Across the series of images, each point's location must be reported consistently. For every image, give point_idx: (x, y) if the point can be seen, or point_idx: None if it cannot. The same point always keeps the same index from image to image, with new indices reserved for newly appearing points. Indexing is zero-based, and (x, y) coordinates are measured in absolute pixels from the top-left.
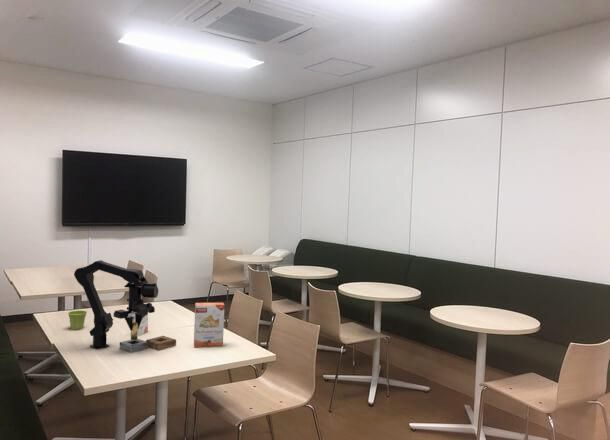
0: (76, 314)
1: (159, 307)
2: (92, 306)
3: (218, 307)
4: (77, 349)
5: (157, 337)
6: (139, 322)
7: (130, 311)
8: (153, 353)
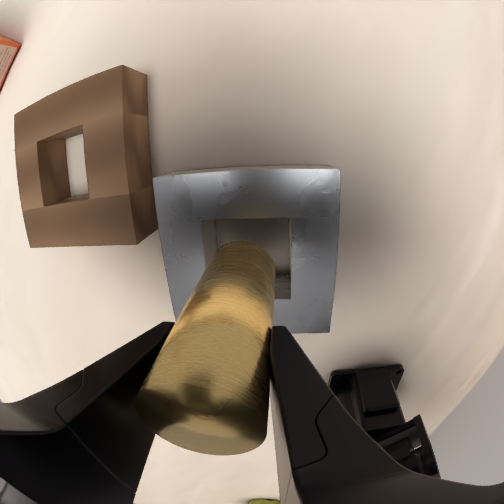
0: None
1: None
2: None
3: None
4: (430, 398)
5: (59, 237)
6: (110, 374)
7: None
8: (212, 39)
